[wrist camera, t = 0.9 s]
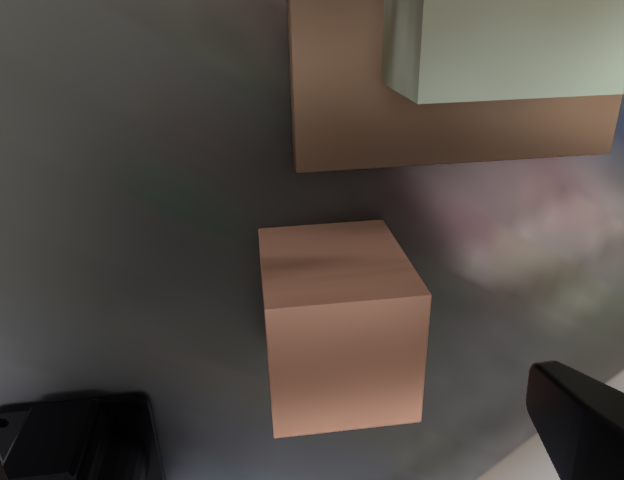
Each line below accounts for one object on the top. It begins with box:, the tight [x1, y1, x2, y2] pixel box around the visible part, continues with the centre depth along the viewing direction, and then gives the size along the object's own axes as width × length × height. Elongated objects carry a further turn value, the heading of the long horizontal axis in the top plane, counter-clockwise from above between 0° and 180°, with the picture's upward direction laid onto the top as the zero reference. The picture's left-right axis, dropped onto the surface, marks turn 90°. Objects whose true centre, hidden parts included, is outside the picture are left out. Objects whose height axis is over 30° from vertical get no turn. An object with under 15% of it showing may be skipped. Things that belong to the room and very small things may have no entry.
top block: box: [258, 220, 432, 438], centre depth 19 cm, size 5×5×6 cm
